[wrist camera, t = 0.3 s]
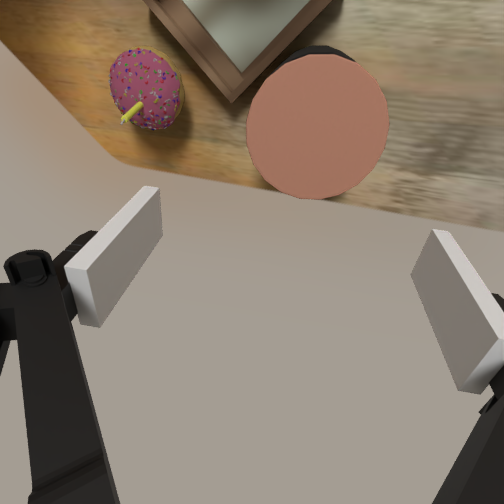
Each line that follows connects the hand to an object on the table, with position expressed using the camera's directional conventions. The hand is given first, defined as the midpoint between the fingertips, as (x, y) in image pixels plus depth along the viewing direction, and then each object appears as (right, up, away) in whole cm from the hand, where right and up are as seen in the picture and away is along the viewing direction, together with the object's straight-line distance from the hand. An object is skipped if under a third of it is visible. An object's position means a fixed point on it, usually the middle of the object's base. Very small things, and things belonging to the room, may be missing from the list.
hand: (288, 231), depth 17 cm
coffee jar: (+6, +18, +24) cm, 30 cm away
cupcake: (-13, +20, +26) cm, 35 cm away
